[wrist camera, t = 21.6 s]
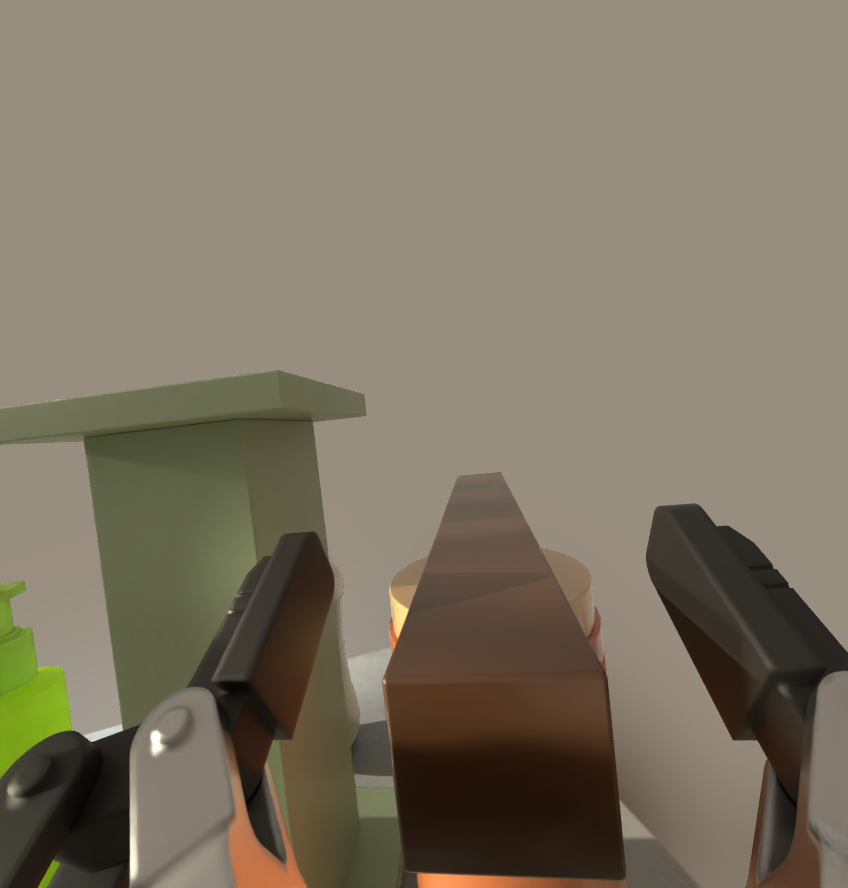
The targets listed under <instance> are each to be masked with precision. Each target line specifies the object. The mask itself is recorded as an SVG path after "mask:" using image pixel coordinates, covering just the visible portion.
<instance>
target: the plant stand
mask: <svg viewBox="0 0 848 888" xmlns="http://www.w3.org/2000/svg"><path fill="white" fill-rule="evenodd" d="M362 416H366V407H365V398H364V394H361V393H357V392H354V391H350V390H347V389H343V388H340V387H336V386H333V385H329V384H325V383H322V382H318V381H314V380H311V379H307V378H304V377H300V376H297V375H293V374H290V373H286V372H282V371H279V370H273V371H265V372H258V373H250V374H244V375H236V376H228V377H221V378H214V379H206V380H199V381H191V382H184V383H176V384H169V385H163V386H154V387H147V388H140V389H133V390H126V391H118V392H110V393H104V394H96V395H88V396H80V397H73V398H66V399H58V400H51V401H43V402H36V403H29V404H21V405H14V406H7V407H0V445H3V444H29V443H54V442H78V441H84V446H85V453H86V460H87V468H88V476H89V483H90V490H91V498H92V505H93V512H94V520H95V527H96V535H97V542H98V548H99V549H98V550H99V557H100V564H101V572H102V579H103V587H104V594H105V601H106V609H107V616H108V624H109V631H110V638H111V646H112V653H113V660H114V668H115V675H116V682H117V690H118V697H119V705H120V712H121V719H122V727H123V731H124V730H126V729H129V728H132V727H134V726H137V725H140V724H142V723H143V721H144V720H145V718H146V717H147V716H148V715H149V714H150V712H151V711H152V710H153V709H154V708H155V707H156V706H157V705H158V704H160V703H161V702H162V701H163V700H164V699H166V698H167V697H169V696H170V695H172V694H174V693H176V692H177V691H180V690H182V689H185V688H186V687H187V686H188V684H189V683H190V681H191V679H192V677H193V676H194V674H195V672H196V670H197V668H198V666H199V664H200V662H201V660H202V659H203V657H204V655H205V653H206V651H207V649H208V647H209V645H210V643H211V641H212V640H213V638H214V636H215V634H216V632H217V630H218V628H219V626H220V624H221V622H222V621H223V619H224V617H225V615H226V614H228V609H229V607H230V605H231V604H232V602H233V600H234V598H235V597H237V592H238V590H239V588H240V586H241V585H242V583H243V581H244V579H245V577H246V575H247V573H248V572H249V571H250V570H251V569H252V568H253V567H254V566H255V565H256V564H257V563H258V562H259V561H260V560H261V559H262V558H263V557H264V556H272V554H273V552H274V550H275V548H276V546H277V544H278V541H279V539H280V538H281V536H282V535H284V534H286V533H298V532H312V531H314V532H316V533H317V534H318V536H319V538H320V541H321V543H322V546H323V548H324V551H325V553H326V556H327V558H328V560H329V557H328V548H327V540H326V532H325V523H324V514H323V505H322V497H321V489H320V481H319V472H318V463H317V454H316V446H315V437H314V429H313V422H318V421H327V420H335V419H343V418H353V417H362ZM267 760H268V763H269V765H270V769H271V773H272V776H273V780H274V784H275V787H276V791H277V794H278V798H279V802H280V805H281V809H282V813H283V816H284V820H285V824H286V827H287V831H288V835H289V838H290V842H291V846H292V849H293V853H294V857H295V860H296V863H297V866H298V868H299V871H300V873H301V875H302V877H303V879H304V881H305V883H306V885H307V887H308V888H401V886H402V880H403V874H404V866H403V859H402V851H401V842H400V833H399V824H398V815H397V807H396V798H395V789H394V788H367V787H355V779H354V771H353V762H352V753H351V745H350V736H349V728H348V719H347V711H346V702H345V694H344V685H343V676H342V668H341V659H340V651H339V642H338V634H337V625H336V617H335V608H334V600H333V599H332V603H331V606H330V610H329V613H328V616H327V620H326V623H325V627H324V630H323V634H322V637H321V641H320V644H319V648H318V651H317V655H316V658H315V662H314V665H313V669H312V672H311V676H310V679H309V683H308V686H307V689H306V693H305V696H304V700H303V703H302V707H301V710H300V714H299V717H298V721H297V724H296V728H295V731H294V735H293V738H292V740H273V742H272V745H271V748H270V751H269V754H268V757H267Z"/></svg>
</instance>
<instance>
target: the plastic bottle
mask: <svg viewBox="0 0 848 888" xmlns="http://www.w3.org/2000/svg"><path fill="white" fill-rule="evenodd" d="M328 557H329V563H330V565H331V568H332V570H333V574H334V581H335V587H334V595H333V600H334V608H335V617H336V625H337V634H338V642H339V651H340V659H341V668H342V676H343V685H344V694H345V702H346V711H347V719H348V728H349V736H350V745H351V746H352V744H353V742H354V740H355V738H356V736H357V734H358V731H359V719H360V709H359V704H358V700H357V696H356V692H355V690H354V687H353V685H352V682H351V677H350V672H349V668H348V663H347V658H346V653H345V641H344V626H343V599H344V596H343V595H344V591H343V589H344V584H343V576H342V574H341V571H340V569H339V567H338V566H337V564H336V563H335V562H334V561H333V559H332V558H331V557H330V556H329V555H328Z"/></svg>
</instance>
